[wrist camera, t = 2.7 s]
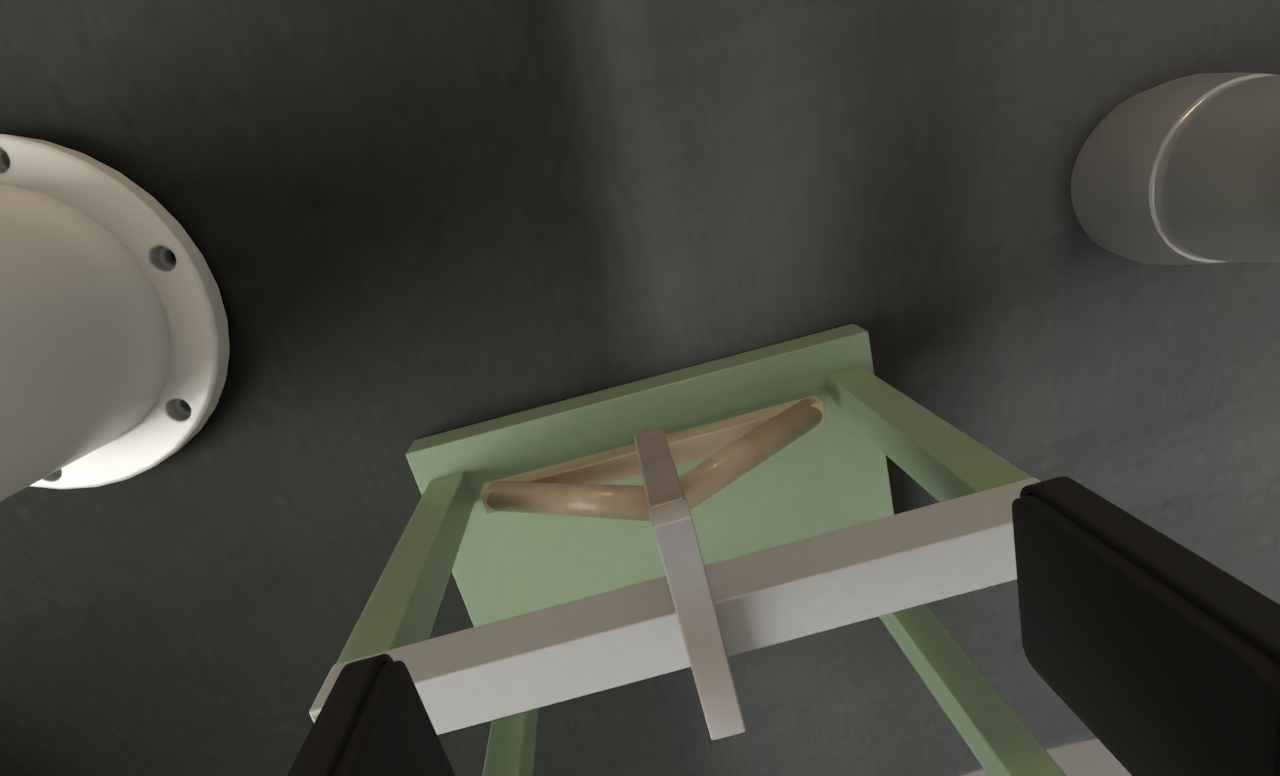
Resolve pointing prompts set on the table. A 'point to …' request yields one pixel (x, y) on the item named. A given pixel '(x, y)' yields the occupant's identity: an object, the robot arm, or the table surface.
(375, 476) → the table surface
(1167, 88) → the metal bottle
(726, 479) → the hanger
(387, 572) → the rack
